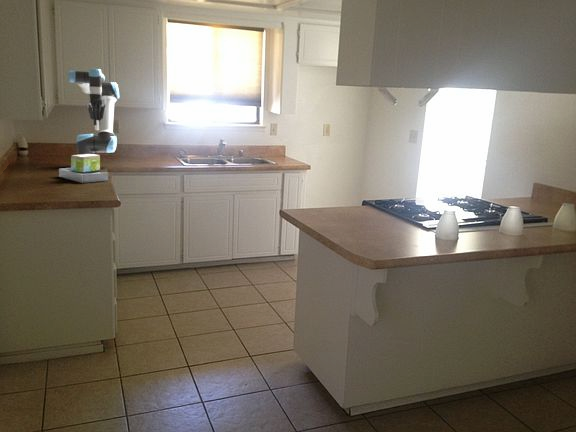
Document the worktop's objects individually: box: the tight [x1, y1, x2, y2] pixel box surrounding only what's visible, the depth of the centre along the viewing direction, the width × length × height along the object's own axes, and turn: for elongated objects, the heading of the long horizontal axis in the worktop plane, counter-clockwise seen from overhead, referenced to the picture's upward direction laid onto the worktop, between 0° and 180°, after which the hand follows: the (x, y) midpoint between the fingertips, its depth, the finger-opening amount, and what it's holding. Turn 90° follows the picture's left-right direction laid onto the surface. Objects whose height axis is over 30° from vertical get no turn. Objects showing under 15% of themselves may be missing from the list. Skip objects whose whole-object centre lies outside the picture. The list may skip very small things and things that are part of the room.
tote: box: [58, 167, 109, 184], centre depth 327 cm, size 17×29×5 cm, turn 49°
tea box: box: [70, 154, 101, 174], centre depth 327 cm, size 15×10×15 cm
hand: (97, 130), depth 346 cm, fingers closed
